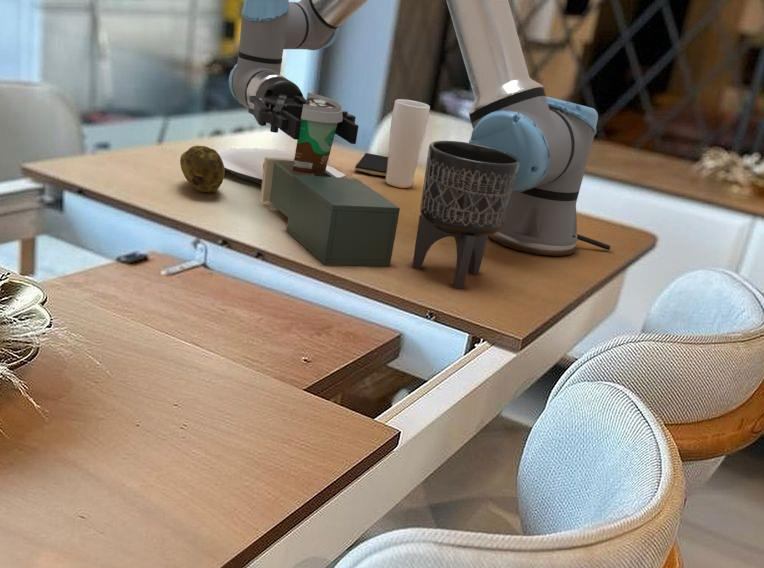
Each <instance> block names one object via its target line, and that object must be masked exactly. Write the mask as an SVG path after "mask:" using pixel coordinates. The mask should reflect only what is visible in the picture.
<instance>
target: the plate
mask: <svg viewBox="0 0 764 568" xmlns="http://www.w3.org/2000/svg"><path fill="white" fill-rule="evenodd" d="M216 152H217V153H218V154H219V155H220V157H221V159H222V162H223V164H224V169H225V171H227V172H228V173H230V174H232V175H234V176H237V177H238V178H241V179H243V180H246V181H248V182H252V183H256V184H258V185H262V180H263V163H264V161H265V157H271V158H287V159H294V158H295V153H291V152H287V151H283V150H279V149H277V148H226V149H221V150H220V149H219V150H216ZM326 170H327V171H328V172H330V173H331V174H333V175H334V176H335V177H339V178H347V175H346V174H345V173H343V172H341V171H340V170H338V169H336V168H334V167H332V166H330V165H328V164H327V167H326Z"/></svg>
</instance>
